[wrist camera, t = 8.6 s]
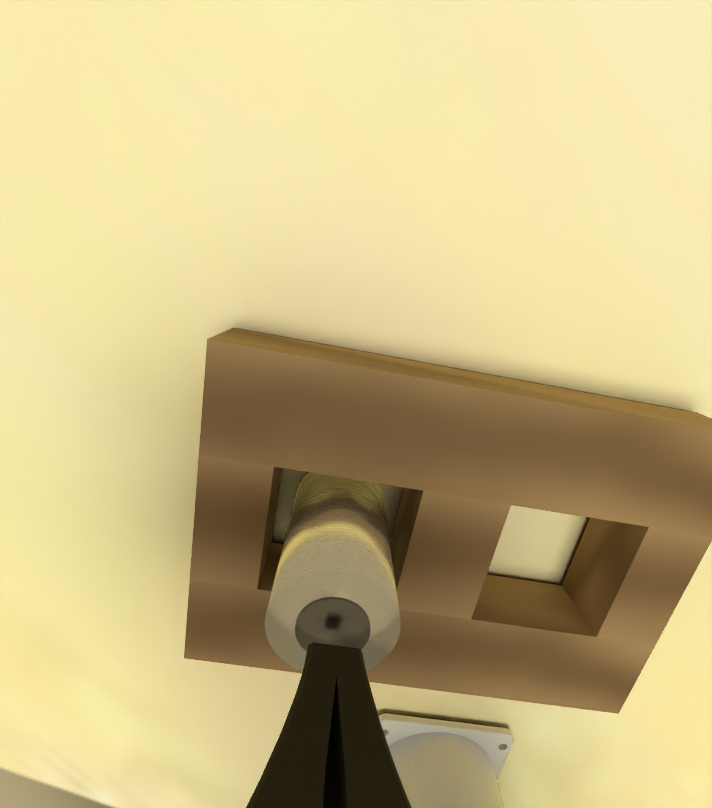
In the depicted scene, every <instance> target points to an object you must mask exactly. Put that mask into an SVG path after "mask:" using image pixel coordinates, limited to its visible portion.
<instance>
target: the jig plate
mask: <svg viewBox="0 0 712 808" xmlns="http://www.w3.org/2000/svg"><path fill="white" fill-rule="evenodd" d="M282 468H286V469H292V470H298V471H305V472H311V473H317V474H323V475H329V476H336V477H342V478H348V479H354V480H360V481H367V482H373V483H379V484H385V485H391V486H398V487H404V490H403V494H402V498H401V502H400V506H399V510H398V514H397V518H396V522H395V526H394V530H393V534H392V538H391V542H390V550H391V557H392V564H393V571H394V578H395V585H396V592H397V599H398V606H399V613H400V621H401V628H400V634H399V638H398V640H397V643H396V645H395V646H394V648H393V650H392V651H391V652H390V654H389V655H388V656H387V657H386V658H385V659H384V660H383V661H381V662H380V663H379V664H377V665H376V666H374V667H372V668H370V669H368V670H366V673H367V677H368V681H369V682H375V683H383V684H391V685H399V686H407V687H415V688H422V689H430V690H438V691H446V692H454V693H462V694H469V695H477V696H485V697H493V698H501V699H509V700H517V701H524V702H532V703H540V704H548V705H556V706H564V707H571V708H579V709H587V710H595V711H603V712H611V713H619V712H620V710H621V708H622V706H623V704H624V702H625V701H626V699H627V697H628V695H629V693H630V691H631V689H632V688H633V686H634V684H635V682H636V680H637V678H638V676H639V675H640V673H641V671H642V669H643V667H644V665H645V663H646V662H647V660H648V658H649V656H650V654H651V652H652V650H653V649H654V647H655V645H656V643H657V641H658V639H659V637H660V636H661V634H662V632H663V630H664V628H665V626H666V624H667V623H668V621H669V619H670V617H671V615H672V613H673V611H674V610H675V608H676V606H677V604H678V602H679V600H680V598H681V597H682V595H683V593H684V591H685V589H686V587H687V585H688V584H689V582H690V580H691V578H692V576H693V574H694V572H695V571H696V569H697V567H698V565H699V563H700V561H701V559H702V558H703V556H704V554H705V552H706V550H707V548H708V546H709V545H710V543H711V541H712V418H709V417H706V416H704V415H701V414H699V413H695V412H690V411H684V410H679V409H673V408H668V407H663V406H657V405H652V404H646V403H641V402H635V401H630V400H624V399H619V398H613V397H608V396H602V395H597V394H592V393H586V392H581V391H575V390H570V389H564V388H559V387H553V386H548V385H542V384H537V383H532V382H526V381H521V380H515V379H510V378H504V377H499V376H493V375H488V374H482V373H477V372H471V371H466V370H461V369H455V368H450V367H444V366H439V365H433V364H428V363H422V362H417V361H411V360H406V359H400V358H395V357H390V356H384V355H379V354H373V353H368V352H362V351H357V350H351V349H346V348H340V347H335V346H330V345H324V344H319V343H313V342H308V341H302V340H297V339H291V338H286V337H280V336H275V335H269V334H264V333H259V332H253V331H248V330H242V329H237V328H232V329H230V330H227V331H225V332H223V333H220V334H218V335H216V336H214V337H211V338H209V339H207V352H206V366H205V379H204V393H203V407H202V420H201V434H200V448H199V461H198V475H197V489H196V502H195V516H194V530H193V543H192V557H191V571H190V584H189V598H188V612H187V625H186V639H185V653H184V658H187V659H195V660H203V661H211V662H218V663H226V664H234V665H242V666H250V667H258V668H265V669H273V670H281V671H289V672H297V673H303V672H302V671H300V670H298V669H296V668H294V667H292V666H290V665H289V664H288V663H286V662H285V661H283V660H282V659H281V658H280V657H279V656H278V655H277V654H276V652H275V651H274V650H273V648H272V647H271V645H270V643H269V641H268V639H267V636H266V632H265V616H266V612H267V608H268V604H269V600H270V596H271V592H272V588H273V584H274V580H275V576H276V572H277V568H278V564H279V560H280V556H281V552H282V548H283V544H279V543H272V542H271V541H272V534H273V527H274V520H275V513H276V506H277V499H278V492H279V485H280V478H281V471H282ZM511 505H515V506H522V507H528V508H534V509H540V510H546V511H553V512H559V513H565V514H571V515H577V516H584V517H590V519H589V522H588V524H587V527H586V529H585V531H584V534H583V536H582V538H581V541H580V543H579V546H578V548H577V550H576V553H575V555H574V557H573V560H572V562H571V565H570V567H569V569H568V572H567V574H566V576H565V579H564V581H563V584H562V586H561V585H555V584H548V583H541V582H535V581H528V580H521V579H514V578H508V577H501V576H494V575H487V572H488V569H489V566H490V563H491V561H492V558H493V555H494V552H495V549H496V546H497V543H498V540H499V537H500V535H501V532H502V529H503V526H504V523H505V520H506V517H507V514H508V512H509V509H510V506H511Z"/></svg>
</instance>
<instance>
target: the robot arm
mask: <svg viewBox="0 0 712 808" xmlns="http://www.w3.org/2000/svg"><path fill="white" fill-rule="evenodd" d="M513 741H514V738H513V735H512V732H511V730H509V729H507V728H502V727H493V726H485V725H477V724H469V723H461V722H453V721H444V720H436V719H428V718H420V717H412V716H404V715H395V714H387V713H384V714H381V715H379V716H378V713H377V710H376V706H375V703H374V699H373V696H372V692H371V688H370V685H369V681H368V677H367V673H366V668H365V663H364V658H363V653H362V651H361V650H360V649H359V648H353V647H345V646H338V645H330V644H322V643H315V642H313V643H311V644H309V645H308V648H307V653H306V658H305V663H304V668H303V673H302V676H301V679H300V683H299V686H298V689H297V692H296V695H295V698H294V700H293V703H292V706H291V708H290V711H289V713H288V716H287V719H286V721H285V724H284V726H283V729H282V731H281V734H280V736H279V738H278V741H277V743H276V745H275V747H274V750H273V752H272V754H271V756H270V759H269V761H268V763H267V765H266V768H265V770H264V772H263V774H262V776H261V778H260V781H259V783H258V785H257V787H256V789H255V791H254V793H253V795H252V797H251V799H250V801H249V803H248V805H247V807H246V808H504V805H503V802H502V798H501V795H500V791H499V788H498V784H497V781H496V780H497V777H498V775H499V773H500V770H501V768H502V766H503V764H504V761H505V759H506V757H507V755H508V752H509V750H510V748H511V745H512V743H513Z"/></svg>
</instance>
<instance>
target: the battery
mask: <svg viewBox="0 0 712 808" xmlns="http://www.w3.org/2000/svg"><path fill="white" fill-rule="evenodd" d="M400 628H401V621H400V613H399V606H398V599H397V592H396V585H395V578H394V571H393V564H392V557H391V550H390V543H389V536H388V529H387V522H386V515H385V508H384V501H383V494H382V490H381V487H380V484H379V483H373V482H367V481H360V480H354V479H348V478H342V477H336V476H329V475H323V474H317V473H311V472H308V473H307V474H306V475H305V476H304V477H303V478H302V480H301V482H300V484H299V486H298V489H297V493H296V497H295V501H294V505H293V509H292V513H291V517H290V521H289V525H288V529H287V532H286V536H285V540H284V544H283V548H282V552H281V556H280V560H279V564H278V568H277V572H276V576H275V580H274V584H273V588H272V592H271V596H270V600H269V604H268V608H267V612H266V616H265V632H266V636H267V639H268V641H269V643H270V645H271V647H272V648H273V650H274V651H275V652H276V654H277V655H278V656H279V657H280V658H281V659H282V660H283V661H285V662H286V663H288V664H289V665H290V666H292V667H294V668H296V669H298V670H300V671H302V672H303V668H304V663H305V658H306V653H307V648H308V645H309V644H311V643H313V642H315V643H322V644H330V645H338V646H345V647H353V648H359V649H360V650H361V651H362V653H363V658H364V663H365V668H366V670H368V669H370V668H372V667H374V666H376V665H377V664H379V663H380V662H381V661H383V660H384V659H385V658H386V657H387V656H388V655H389V654H390V652H391V651H392V650H393V648H394V646H395V645H396V643H397V640H398V638H399V634H400Z"/></svg>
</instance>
